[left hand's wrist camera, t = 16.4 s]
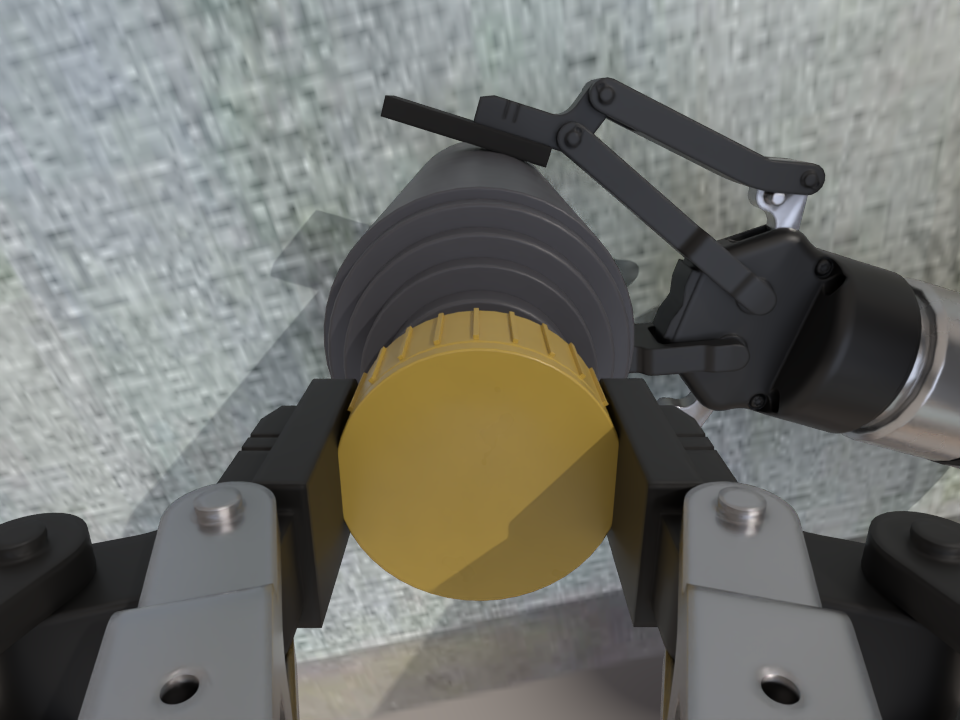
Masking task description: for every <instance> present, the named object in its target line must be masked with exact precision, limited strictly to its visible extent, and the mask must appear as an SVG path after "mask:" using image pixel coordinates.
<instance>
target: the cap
mask: <svg viewBox="0 0 960 720" xmlns="http://www.w3.org/2000/svg"><path fill="white" fill-rule="evenodd" d="M607 405H608V402H607V400H606V398H605V395H604V393H603V391H602V388H601V386H600V384H599V381H598V379H597V377H596V374H595V372H594V370H593V368H590V369H589V368H588V367H587V366H586V364H585V363H584V361H583V360H582V358H581V357H580V356H579V355H578V354H577V351H576V349H575V346H574V345H573V344H572V343H570V344H568V343H566V342H565V341H564V340H563V339H562V338H560V337H559V336H558V335H557V334H555V333H553V332H552V331H550V330H548V327H547V325H546V324H544V323H542V325H539V324H537V323H535V322H533V321H531V320H528V319H525V318H522V317H519V316H516V315H515V314H514V312H511V311H509V314H507V313H501V312H495V311H479V308H474V311H465V312H457V313H452V314H447V315H444V313H440V314H438V317H437V318H434V319H431V320H428V321H426V322H424V323H422V324H420V325H418V326H416V327H414V328H412V327H411V326H409V327H408V328H407V329H406V332H405V333H404V334H403V335H401V336H400V337H398V338H397V339H396V340H395V341H394V342H393V343H391V344H390V345H389V346H388V347H387V348H385V347H384V346H383V347H382V348H381V350H380V352H379V355H378V357H377V359H376V361H375V362H374V364H373V365H372V367H371V368H370V370H369V372H368V373H365V372H364V373H363V375H362V377H361V380H360V382H359V384H358V387H357V389H356V391H355V394H354V396H353V398H352V401H351V403H350V405H349V408H348V411H350V412H351V413H350V415H349V418H348V420H347V423H346V425H345V428H344V430H343V432H342V435H341V437H340V441H339V444H338V459H339V471H340V482H341V494H342V505H343V516H344V521H345V523H346V524H347V526H348V528H349V530H350V532H351V534H352V535H353V537H354V538H355V540H356V541H357V543H358V544H359V545H360V547H361V548H362V549H363V550H364V551H365V552H366V553H367V555H368V556H369V557H370V558H371V559H372V560H373V561H374V562H376V563H377V564H378V565H379V566H380V567H382V568H383V569H384V570H385V571H387V572H388V573H390V574H391V575H393V576H394V577H396V578H397V579H399V580H401V581H403V582H405V583H407V584H409V585H411V586H413V587H415V588H417V589H420V590H423V591H425V592H428V593H431V594H435V595H439V596H443V597H447V598H453V599H460V600H475V601H486V600H500V599H506V598H511V597H517V596H520V595H524V594H527V593H531V592H534V591H536V590H539V589H541V588H544V587H546V586H548V585H551V584H552V583H554V582H556V581H558V580H560V579H561V578H563V577H565V576H566V575H568V574H569V573H570V572H572V571H573V570H575V569H576V568H577V567H579V566H580V565H581V564H582V563H583V562H584V561H585V560H586V559H587V558H589V557H590V556H591V555H592V553H593V552H594V551H595V550H596V549H597V547H598V546H599V545H600V544H601V543H602V541H603V540H604V538H605V536H606V535H607V533H608V532H609V530H610V529H611V526H612V519H613V507H614V495H615V483H616V471H617V459H618V447H619V438H618V435H617V432H616V430H615V427H614V425H613V423H612V420H611V418H610V415H609V413H608V410H607V408H606V406H607Z"/></svg>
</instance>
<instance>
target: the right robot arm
mask: <svg viewBox="0 0 960 720" xmlns="http://www.w3.org/2000/svg"><path fill="white" fill-rule="evenodd" d="M381 116H382V117H385V118H388V119H391V120H395V121H398V122H401V123H404V124H408V125H411V126H414V127H417V128H420V129H424V130H427V131H430V132H433V133H436V134H440V135H443V136H446V137H449V138H452V139H456V140H459V141H462V142H465V143H468V144H472V145H475V146H478V147H481V148H485V149H488V150H491V151H494V152H497V153H501V154H504V155H507V156H510V157H513V158H517V159H520V160H523V161H526V162H529V163H533V164H536V165H539V166H542V167H545V168H546V165H547V162H548V159H549V156H550V153H551V150H552V149H555V150H558V151H561V152H563V153H564V154H565V155H566V156H567V157H568V158H570V159H571V160H572V161H573V162H574V163H575V164H577V165H578V166H579V167H580V168H581V169H582V170H584V171H585V172H586V173H587V174H588V175H589V176H591V177H592V178H593V179H594V180H595V181H596V182H597V183H599V184H600V185H601V186H602V187H603V188H604V189H606V190H607V191H608V192H609V193H610V194H611V195H613V196H614V197H615V198H616V199H617V200H618V201H620V202H621V203H622V204H623V205H624V206H625V207H627V208H628V209H629V210H630V211H631V212H632V213H634V214H635V215H636V216H637V217H638V218H639V219H641V220H642V221H643V222H644V223H645V224H646V225H648V226H649V227H650V228H651V229H652V230H653V231H655V232H656V233H657V234H658V235H659V236H660V237H662V238H663V239H664V240H665V241H666V242H667V243H668V244H669V245H671V246H672V247H673V248H674V249H675V250H676V251H678V252H679V253H680V254H681V255H682V256H683V257H685V258H684V260H681V259H679V260H678V262H677V265H676V267H675V270H674V272H673V275H672V281H671V288H670V293H669V295H668V296H667V298H666V299H665V300H664V302H663V303H662V304H661V306H660V307H659V309H658V311H657V313H656V316H655V318H654V321H653V322H652V323H640V324H634V349H633V356H632V362H631V366H630V370H629V373H642V374H645V375H650V376H657V375H668V374H679V375H680V377H681V378H682V379H683V381H684V382H685V384H686V385H687V386H688V388H689V389H690V391H691V392H690V393H689V394H688V396H686V397H684V398H682V399H673V398H665V397H662V398H660V399H659V400H658V401H657V403H658V405H674V406H676V407H677V408H679V409H681V410H682V411H684V412H685V413H687V414H688V415H690V416H692V417H693V418H695V420H696V421H697V422H698V424H699V425H700V427H702V425H703V424H704V423H705V421H706V420H707V418H708V417H709V416H710V414H711V413H712V412H713V410H715V411H724V410H729V409H734V408H746V409H750V410H754V411H757V412H760V413H763V414H766V415H769V416H773V417H776V418H780V419H784V420H787V421H791V422H794V423H798V424H801V425H805V426H808V427H812V428H816V429H819V430H823V431H826V432H830V433H841V434H842V435H844V436H846V437H849V438H851V439H853V440H856V441H860V442H864V443H868V444H872V445H875V446H879V447H883V448H887V449H891V450H895V451H898V452H902V453H906V454H910V455H914V456H918V457H921V458H925V459H928V460H931V461H934V462H937V463H940V464H946V465H949V466H952V467H956V468H959V469H960V293H959V292H955V291H952V290H949V289H946V288H943V287H940V286H936V285H933V284H930V283H927V282H924V281H921V280H916V279H912V278H903V277H902V276H900V275H898V274H897V273H895V272H892V271H888V270H885V269H882V268H879V267H876V266H872V265H869V264H866V263H863V262H860V261H856V260H853V259H850V258H847V257H844V256H841V255H837V254H834V253H831V252H828V251H825V250H821V249H818V248H816V247H814V246H813V245H812V244H811V243H810V242H809V240H808V239H807V238H806V236H805V235H804V234H803V233H801V232H800V231H799V227H800V224H801V220H802V216H803V212H804V208H805V204H806V200H807V196H808V195H812V194H814V193H816V192H818V191H819V189H820V188H821V187H822V186H823V184H824V181H825V173H824V170H823V169H822V168H821V167H820V166H819V165H816V164H813V163H808V162H803V161H798V160H793V159H787V158H776V157H765V156H762V155H760V154H758V153H756V152H754V151H753V150H751V149H749V148H747V147H745V146H743V145H741V144H739V143H737V142H735V141H733V140H731V139H729V138H727V137H725V136H723V135H721V134H720V133H718V132H716V131H714V130H712V129H710V128H708V127H706V126H704V125H702V124H700V123H698V122H696V121H694V120H692V119H690V118H689V117H687V116H685V115H683V114H681V113H679V112H677V111H675V110H673V109H671V108H669V107H667V106H665V105H663V104H661V103H659V102H657V101H656V100H654V99H652V98H650V97H648V96H646V95H644V94H642V93H640V92H638V91H636V90H634V89H632V88H630V87H628V86H626V85H624V84H623V83H621V82H619V81H617V80H615V79H612V78H608V77H607V78H600V79H595V80H591V81H589V82H588V83H586V84H585V86H584V87H583V89H582V92H581V93H580V94H579V96H578V97H577V98H576V100H575V101H574V102H573V104H572V105H571V106H570V107H569V108H568V109H567V110H566V111H564V112H562V113H559V114H551V113H548V112H545V111H542V110H539V109H535V108H532V107H529V106H526V105H523V104H520V103H517V102H514V101H510V100H507V99H504V98H501V97H498V96H495V95H493V96H483V97H480V100H479V103H478V107H477V111H476V114H475V118H474V121H473V120H470V119H466V118H463V117H460V116H457V115H454V114H451V113H447V112H444V111H441V110H438V109H435V108H432V107H428V106H425V105H422V104H419V103H416V102H413V101H409V100H406V99H403V98H400V97H397V96H388V95H385V99H384V104H383V108H382V113H381ZM605 119H608V120H610V121H612V122H614V123H616V124H618V125H620V126H622V127H624V128H626V129H628V130H630V131H632V132H634V133H636V134H638V135H640V136H642V137H644V138H646V139H648V140H650V141H652V142H654V143H656V144H658V145H660V146H662V147H664V148H666V149H668V150H670V151H672V152H674V153H676V154H678V155H680V156H682V157H684V158H686V159H688V160H690V161H692V162H694V163H696V164H698V165H700V166H701V167H703V168H705V169H707V170H709V171H711V172H713V173H715V174H717V175H719V176H721V177H724V178H726V179H728V180H731V181H733V182H736V183H739V184H742V185H745V186H748V187H749V191H748V199H749V201H750V203H751V204H752V205H753V206H755V207H758V208H760V209H762V210H763V211H764V212H765V214H766V216H767V224H766V225H763V226H760V227H757V228H754V229H751V230H748V231H745V232H742V233H739V234H736V235H733V236H730V237H727V238H724V239H721V240H718V241H716V240H715V239H714V238H713V237H711V236H710V235H709V234H708V233H707V232H705V231H704V230H703V229H701V228H700V227H699V226H698V225H697V224H695V223H694V222H693V221H692V220H691V219H690V218H689V217H687V216H686V215H685V214H684V213H683V212H682V211H681V210H680V209H678V208H677V207H676V206H675V205H674V204H673V203H672V202H670V201H669V200H668V199H667V198H666V197H665V196H664V195H662V194H661V193H660V192H659V191H658V190H657V189H656V188H654V187H653V186H652V185H651V184H650V183H649V182H648V181H647V180H645V179H644V178H643V177H642V176H641V175H640V174H639V173H637V172H636V171H635V170H634V169H633V168H632V167H631V166H629V165H628V164H627V163H626V162H625V161H624V160H623V159H621V158H620V157H619V156H618V155H617V154H616V153H615V152H614V151H612V150H611V149H610V148H609V147H608V146H607V145H606V144H604V143H603V142H602V141H601V140H600V139H599V138H598V137H596V136H595V135H594V133H595V132H596V130H597V129H598V128H599V126H600V125H601V124H602V122H603V121H604V120H605Z"/></svg>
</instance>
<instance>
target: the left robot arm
mask: <svg viewBox="0 0 960 720" xmlns="http://www.w3.org/2000/svg"><path fill="white" fill-rule="evenodd" d="M599 384H600V386H601V388H602V391H603V393H604V395H605V398H606V400H607V402H608V405H607V406H606V408H607V410H608V413H609V415H610V418H611V420H612V423H613V425H614V427H615V430H616V432H617V435H618V438H619V447H618V459H617V471H616V483H615V495H614V507H613V519H612V526H611V529H610V530H609V532H608V533H607V537H608V540H609V544H610V547H611V551H612V554H613V558H614V561H615V565H616V568H617V571H618V575H619V578H620V582H621V585H622V589H623V592H624V595H625V599H626V602H627V606H628V609H629V613H630V616H631V620H632V623H633V626H634V627H658V628H659V631H660V634H661V637H662V640H663V643H664V645H665V654H664V662H663V678H662V698H661V718H660V720H960V524H959V523H956V522H954V521H951V520H948V519H945V518H942V517H938V516H934V515H930V514H925V513H919V512H910V511H894V512H887V513H884V514H881V515H879V516H877V517H875V518H874V519H873V520H872V521H871V524H870V527H869V531H868V535H867V539H866V543H859V542H854V541H849V540H843V539H838V538H833V537H827V536H822V535H817V534H813V533H808V532H805V531H802V527H801V524H800V520H799V517H798V515H797V513H796V511H795V510H794V509H793V508H792V507H791V506H790V505H789V504H788V503H787V502H786V501H784V500H783V499H782V498H780V497H778V496H776V495H775V494H773V493H771V492H768V491H766V490H764V489H761V488H758V487H755V486H751V485H747V484H742V483H738V482H737V480H736V479H735V477H734V476H733V474H732V473H731V471H730V470H729V468H728V467H727V465H726V464H725V462H724V461H723V459H722V458H721V457H720V455H719V454H718V452H717V451H716V450H714V446H713V445H712V443H711V442H710V440H709V439H708V437H705V433H704V431H703V430H702V428H701V427H700V425H699V424H698V422H697V421H696V420H695V418H693V417H692V416H690V415H688V414H687V413H685V412H684V411H682V410H681V409H679V408H677V407H676V406H674V405H658V403H657V401H656V399H655V398H654V396H653V394H652V393H651V391H650V389H649V387H648V386H647V384H646V382H645V381H644V379H642V378H601V379H600V381H599ZM357 387H358V382H357V380H356V379H313V380H312V381H311V383H310V385H309V386H308V388H307V390H306V392H305V393H304V395H303V397H302V398H301V400H300V402H299V403H298V405H297V406H281V407H280V408H278V409H276V410H275V411H273V412H272V413H270V414H268V415H267V416H265V417H264V418H262V419H261V420H260V421H259V423H258V424H257V426H256V427H255V429H254V430H253V432H252V433H251V437H250V438H248V439H247V440H246V442H245V443H244V445H243V446H242V451H239V452H238V454H237V455H236V456H235V458H234V459H233V461H232V462H231V464H230V465H229V467H228V468H227V470H226V471H225V472H224V474H223V475H222V477H221V478H220V480H219V481H218V483H217V484H213V485H209V486H205V487H202V488H199V489H196V490H194V491H192V492H189V493H187V494H185V495H184V496H182V497H180V498H178V499H177V500H176V501H174V502H173V503H172V504H171V505H170V506H169V507H168V508H167V509H166V510H165V511H164V513H163V515H162V517H161V520H160V523H159V527H158V530H156V531H153V532H149V533H146V534H141V535H137V536H131V537H126V538H121V539H116V540H110V541H105V542H100V543H94V544H92V543H91V539H90V535H89V531H88V527H87V525H86V523H85V522H84V521H83V519H81V518H79V517H77V516H75V515H71V514H66V513H43V514H36V515H30V516H26V517H22V518H18V519H15V520H11V521H8V522H5V523H3V524H0V720H300V719H299V698H298V677H297V662H296V654H295V646H294V639H293V638H294V635H295V632H296V629H297V628H322V625H323V622H324V619H325V615H326V612H327V609H328V605H329V602H330V599H331V595H332V592H333V588H334V585H335V582H336V578H337V575H338V572H339V568H340V565H341V562H342V558H343V555H344V552H345V548H346V545H347V542H348V538H349V535H350V530H349V528H348V526H347V524H346V523H345V521H344V516H343V505H342V494H341V482H340V471H339V459H338V444H339V441H340V437H341V435H342V432H343V430H344V428H345V425H346V423H347V420H348V418H349V415H350V413H351V412H350V411H348V408H349V405H350V403H351V401H352V398H353V396H354V394H355V391H356V389H357Z"/></svg>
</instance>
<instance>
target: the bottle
mask: <svg viewBox="0 0 960 720" xmlns="http://www.w3.org/2000/svg"><path fill="white" fill-rule="evenodd" d="M474 308H479V311H495V312H501V313H507V314H509V311H511V312H514V314H515V315H516V316H519V317H522V318H525V319H528V320H531V321H533V322H535V323H537V324H539V325H542V323H544V324H546V325H547V327H548V330H550V331H552V332H553V333H555V334H557V335H558V336H559V337H560V338H562V339H563V340H564V341H565V342H566V343H568V344H570V343H572V344H573V345H574V346H575V349H576V351H577V354H578V355H579V356H580V357H581V358H582V360H583V361H584V363H585V364H586V366H587V367H588V368H589V369H590V368H593V370H594V372H595V374H596V377H597V379H598V381H600V379H601V378H627V376H628V373H629V370H630V366H631V362H632V356H633V349H634V318H633V310H632V304H631V301H630V297H629V293H628V289H627V286H626V284H625V282H624V279H623V277H622V275H621V272H620V270H619V268H618V266H617V265H616V263H615V261H614V260H613V258H612V257H611V255H610V253H609V252H608V250H607V249H606V248H605V247H604V245H603V244H602V243H601V242H600V241H599V239H598V238H597V237H596V236H595V235H594V233H593V232H592V231H591V230H590V229H589V228H588V227H587V225H586V224H585V223H584V222H583V221H582V220H581V219H580V217H579V216H578V215H577V214H576V213H575V212H574V211H573V210H572V208H571V207H570V206H569V205H568V204H567V203H566V202H565V200H564V199H563V198H562V197H561V196H560V195H559V194H558V193H557V191H556V190H555V189H554V188H553V187H552V186H551V185H550V183H549V182H548V181H547V180H546V179H545V178H544V177H543V175H542V174H541V173H540V172H539V171H538V170H537V169H536V168H535V166H534V165H533V164H532V163H529V162H526V161H523V160H520V159H517V158H513V157H510V156H507V155H504V154H501V153H497V152H494V151H491V150H488V149H485V148H481V147H478V146H475V145H472V144H468V143H465V142H462V143H458V144H455V145H453V146H450V147H448V148H446V149H444V150H442V151H441V152H439V153H438V154H436V155H435V156H433V157H432V158H431V159H430V160H429V161H428V162H427V163H426V164H425V165H424V166H423V168H422V169H421V170H420V171H419V172H418V173H417V174H416V176H415V177H414V178H413V179H412V180H411V181H410V182H409V184H408V185H407V186H406V187H405V188H404V189H403V190H402V192H401V193H400V194H399V195H398V196H397V197H396V198H395V200H394V201H393V202H392V203H391V204H390V205H389V206H388V208H387V209H386V210H385V211H384V212H383V213H382V214H381V216H380V217H379V218H378V219H377V220H376V221H375V222H374V224H373V225H372V226H371V227H370V228H369V229H368V230H367V232H366V233H365V234H364V235H363V236H362V237H361V239H360V240H359V241H358V242H357V243H356V245H355V246H354V247H353V248H352V250H351V251H350V252H349V254H348V255H347V257H346V259H345V260H344V262H343V264H342V265H341V267H340V269H339V271H338V273H337V276H336V278H335V280H334V283H333V285H332V287H331V291H330V295H329V298H328V302H327V306H326V313H325V321H324V347H325V354H326V360H327V365H328V369H329V372H330V375H331V379H356V380H357V382H358V384H359V382H360V380H361V377H362V375H363V373H364V372H365V373H368V372H369V370H370V368H371V367H372V365H373V364H374V362H375V361H376V359H377V357H378V355H379V352H380V350H381V348H382V347H383V346H384V347H385V348H387V347H388V346H389V345H390V344H391V343H393V342H394V341H395V340H396V339H397V338H398V337H400V336H401V335H403V334H404V333H405V332H406V329H407V328H408V327H409V326H411V327H412V328H414V327H416V326H418V325H420V324H422V323H424V322H426V321H428V320H431V319H434V318H437V317H438V314H440V313H444V315H447V314H452V313H457V312H465V311H474Z"/></svg>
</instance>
